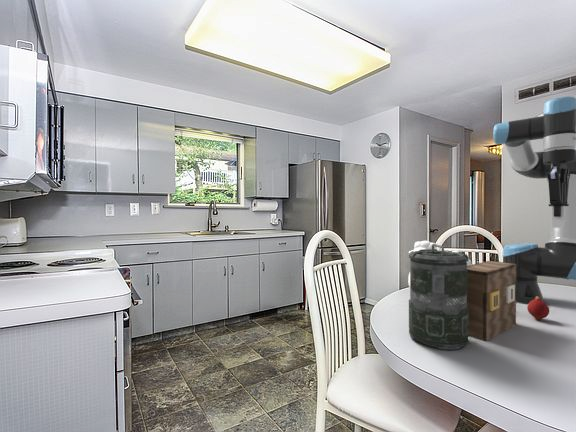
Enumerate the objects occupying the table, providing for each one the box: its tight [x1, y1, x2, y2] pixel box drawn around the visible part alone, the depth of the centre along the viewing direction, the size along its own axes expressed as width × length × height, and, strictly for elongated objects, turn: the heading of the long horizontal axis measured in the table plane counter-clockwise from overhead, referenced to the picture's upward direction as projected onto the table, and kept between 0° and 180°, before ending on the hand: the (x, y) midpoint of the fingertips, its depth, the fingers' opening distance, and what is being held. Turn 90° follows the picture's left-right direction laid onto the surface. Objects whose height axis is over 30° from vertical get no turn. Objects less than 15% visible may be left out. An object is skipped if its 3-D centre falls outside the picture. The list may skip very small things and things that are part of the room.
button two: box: [490, 290, 499, 311], centre depth 93 cm, size 5×5×5 cm
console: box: [467, 260, 517, 342], centre depth 98 cm, size 22×8×20 cm, turn 125°
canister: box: [408, 243, 470, 351], centre depth 90 cm, size 16×16×28 cm
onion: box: [526, 297, 550, 321], centre depth 105 cm, size 6×6×8 cm
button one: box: [506, 284, 515, 303], centre depth 100 cm, size 5×5×5 cm
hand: (558, 227), depth 94 cm, fingers closed
